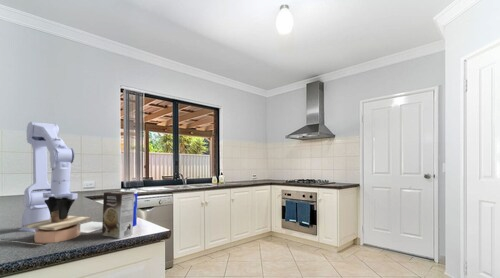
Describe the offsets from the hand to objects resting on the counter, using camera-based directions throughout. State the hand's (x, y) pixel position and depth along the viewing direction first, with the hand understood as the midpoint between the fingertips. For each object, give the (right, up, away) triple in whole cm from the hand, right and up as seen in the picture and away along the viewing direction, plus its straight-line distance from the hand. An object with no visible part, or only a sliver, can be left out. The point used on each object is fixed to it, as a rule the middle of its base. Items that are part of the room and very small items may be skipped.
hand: (58, 218), depth 95 cm
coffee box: (+20, -7, +3) cm, 21 cm away
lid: (0, -2, 0) cm, 2 cm away
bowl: (0, -7, -1) cm, 7 cm away
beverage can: (+19, -8, +16) cm, 26 cm away
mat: (+3, -8, +14) cm, 17 cm away
